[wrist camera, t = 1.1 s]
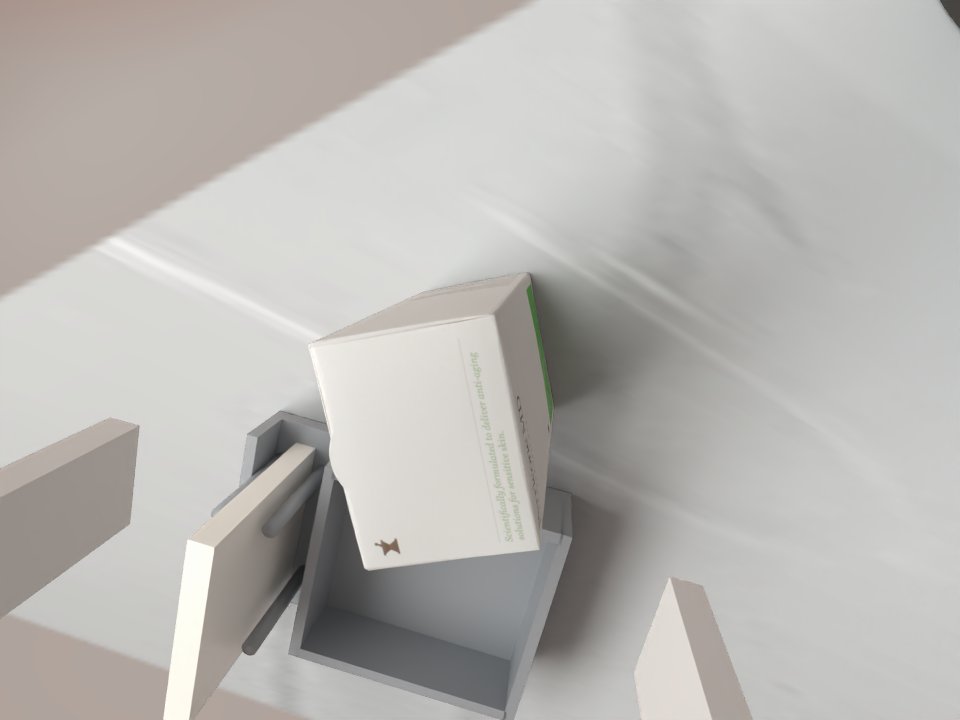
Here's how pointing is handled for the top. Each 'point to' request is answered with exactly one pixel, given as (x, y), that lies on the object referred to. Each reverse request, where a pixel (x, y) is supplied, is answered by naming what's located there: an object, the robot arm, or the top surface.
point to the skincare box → (441, 423)
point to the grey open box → (353, 589)
